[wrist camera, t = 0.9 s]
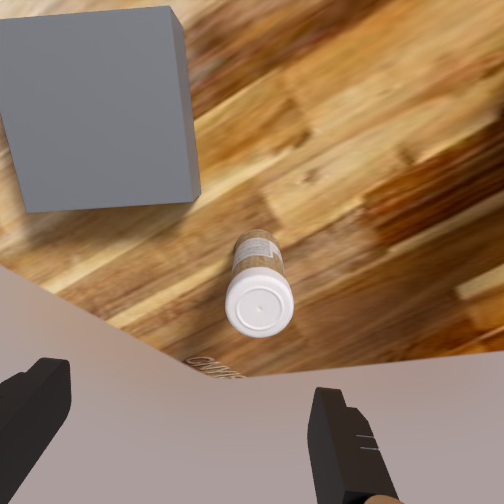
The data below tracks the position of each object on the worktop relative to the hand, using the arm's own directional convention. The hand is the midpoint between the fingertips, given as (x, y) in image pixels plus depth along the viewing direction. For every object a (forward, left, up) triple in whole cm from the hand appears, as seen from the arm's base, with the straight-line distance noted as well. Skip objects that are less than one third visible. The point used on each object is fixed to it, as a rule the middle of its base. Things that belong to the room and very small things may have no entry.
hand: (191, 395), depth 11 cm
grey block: (+10, -10, -25) cm, 28 cm away
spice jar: (-2, +3, -25) cm, 25 cm away
